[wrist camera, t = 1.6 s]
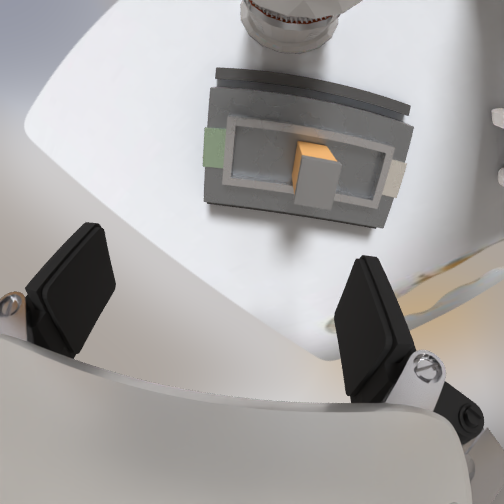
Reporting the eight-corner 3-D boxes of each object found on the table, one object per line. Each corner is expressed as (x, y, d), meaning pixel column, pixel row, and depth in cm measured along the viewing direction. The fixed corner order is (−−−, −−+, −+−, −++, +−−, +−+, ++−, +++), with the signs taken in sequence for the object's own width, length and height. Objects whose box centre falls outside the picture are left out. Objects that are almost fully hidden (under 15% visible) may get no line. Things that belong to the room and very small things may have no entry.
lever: (296, 139, 25) (302, 157, 19) (327, 145, 25) (342, 165, 19) (290, 176, 27) (293, 204, 22) (320, 181, 27) (331, 210, 22)
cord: (218, 67, 24) (216, 67, 23) (406, 104, 24) (410, 105, 23) (217, 78, 24) (215, 78, 23) (404, 114, 24) (408, 116, 23)
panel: (214, 86, 25) (205, 87, 22) (403, 122, 25) (419, 129, 22) (208, 190, 32) (199, 205, 29) (377, 216, 32) (387, 233, 29)
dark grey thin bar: (209, 189, 32) (207, 194, 31) (376, 215, 32) (378, 220, 31) (209, 199, 33) (207, 203, 32) (373, 223, 32) (375, 228, 31)
